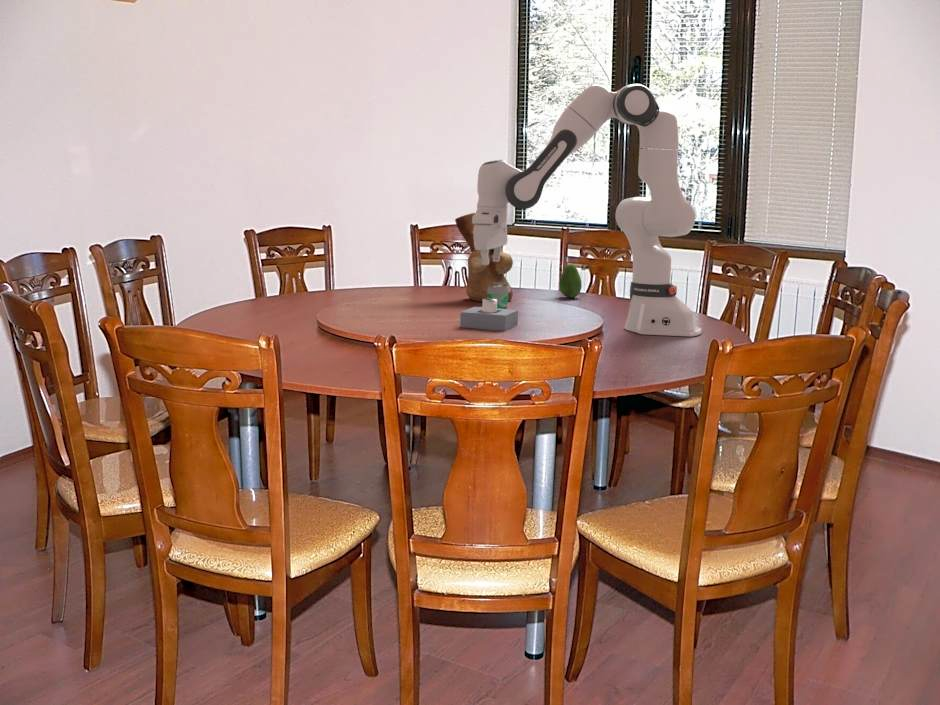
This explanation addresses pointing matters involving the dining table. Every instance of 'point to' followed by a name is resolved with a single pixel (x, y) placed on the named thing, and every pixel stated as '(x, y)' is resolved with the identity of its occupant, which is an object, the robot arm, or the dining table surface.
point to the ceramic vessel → (478, 273)
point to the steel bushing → (489, 305)
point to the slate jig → (489, 319)
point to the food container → (499, 294)
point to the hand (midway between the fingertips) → (490, 263)
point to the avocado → (570, 282)
